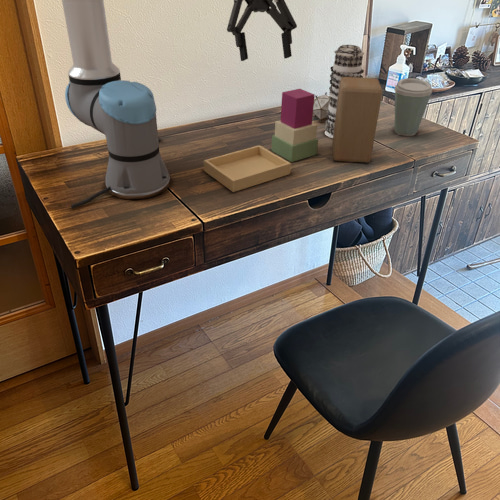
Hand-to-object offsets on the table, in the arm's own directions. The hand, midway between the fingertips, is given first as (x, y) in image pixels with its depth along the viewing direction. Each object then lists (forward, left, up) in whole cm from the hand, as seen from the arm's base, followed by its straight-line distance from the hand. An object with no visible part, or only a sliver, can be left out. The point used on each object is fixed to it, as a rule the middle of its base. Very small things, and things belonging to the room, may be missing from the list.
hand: (266, 58), depth 131 cm
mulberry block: (+1, -13, -14) cm, 19 cm away
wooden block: (+13, -23, -23) cm, 35 cm away
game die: (+25, +2, -23) cm, 33 cm away
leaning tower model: (+21, -10, -23) cm, 32 cm away
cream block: (+1, -13, -18) cm, 22 cm away
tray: (-17, -16, -22) cm, 33 cm away
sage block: (+1, -13, -22) cm, 26 cm away
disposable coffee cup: (+39, -20, -23) cm, 49 cm away
